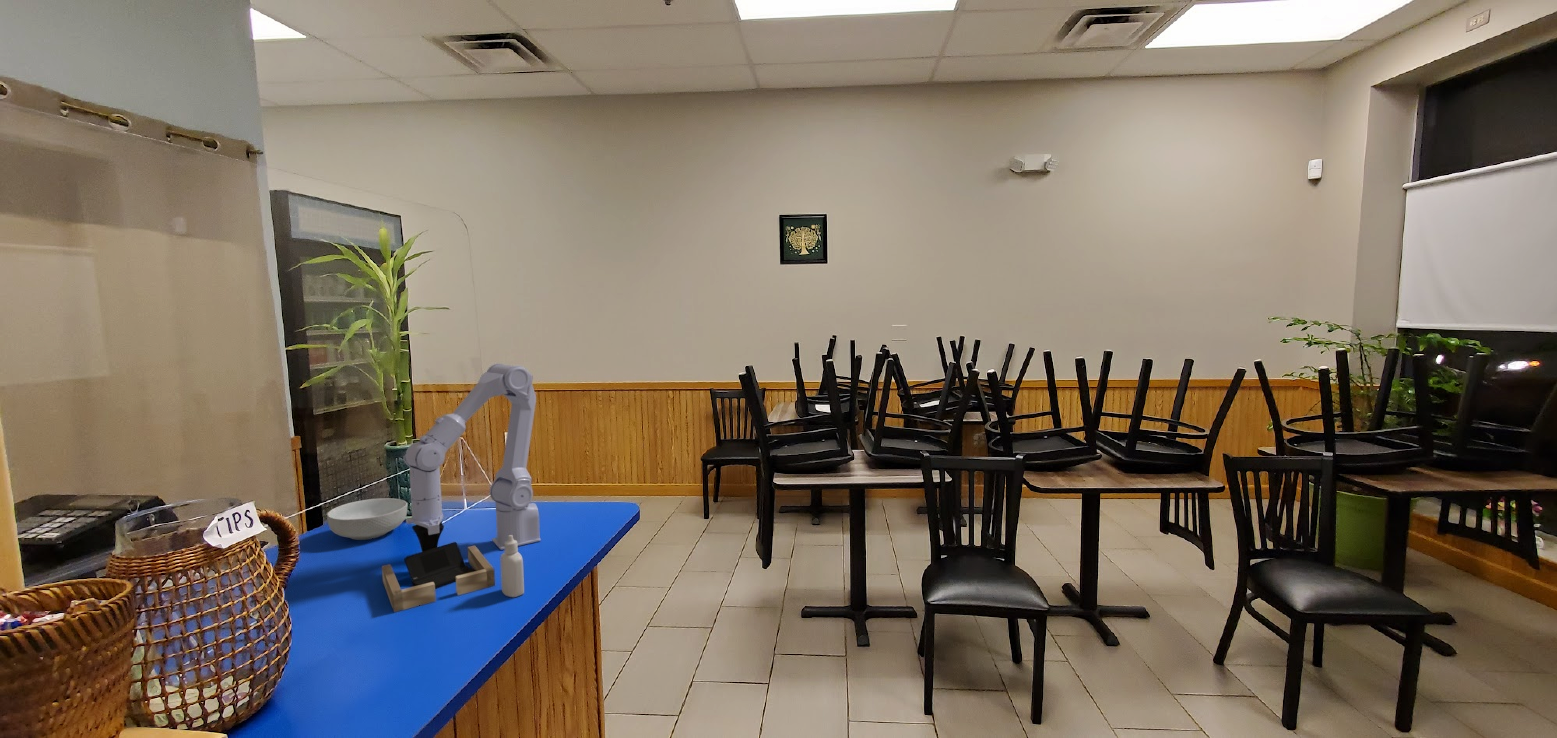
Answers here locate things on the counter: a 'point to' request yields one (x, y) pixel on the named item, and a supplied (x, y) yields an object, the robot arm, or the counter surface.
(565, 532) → the counter surface
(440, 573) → the handheld gaming console
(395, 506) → the cereal bowl
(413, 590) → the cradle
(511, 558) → the eye dropper bottle
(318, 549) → the counter surface
